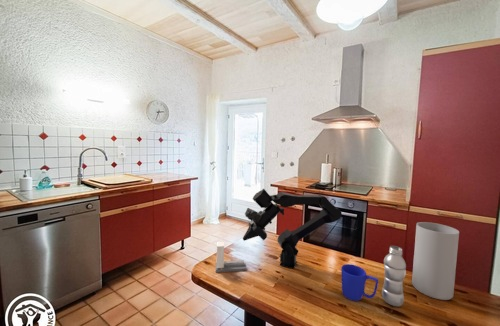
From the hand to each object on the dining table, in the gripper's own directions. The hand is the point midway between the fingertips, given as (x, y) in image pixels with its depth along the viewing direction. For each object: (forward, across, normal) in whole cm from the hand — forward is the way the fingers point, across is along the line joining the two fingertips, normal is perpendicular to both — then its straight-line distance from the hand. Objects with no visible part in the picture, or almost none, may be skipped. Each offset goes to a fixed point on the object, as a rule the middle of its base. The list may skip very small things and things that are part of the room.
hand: (243, 239), depth 100 cm
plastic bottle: (-26, +29, +45) cm, 59 cm away
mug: (-18, +25, +37) cm, 48 cm away
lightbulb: (-31, +23, +49) cm, 62 cm away
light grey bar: (+13, 0, +5) cm, 14 cm away
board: (+13, 0, +5) cm, 14 cm away
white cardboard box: (+15, 0, +1) cm, 15 cm away
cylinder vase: (-41, +24, +60) cm, 76 cm away
